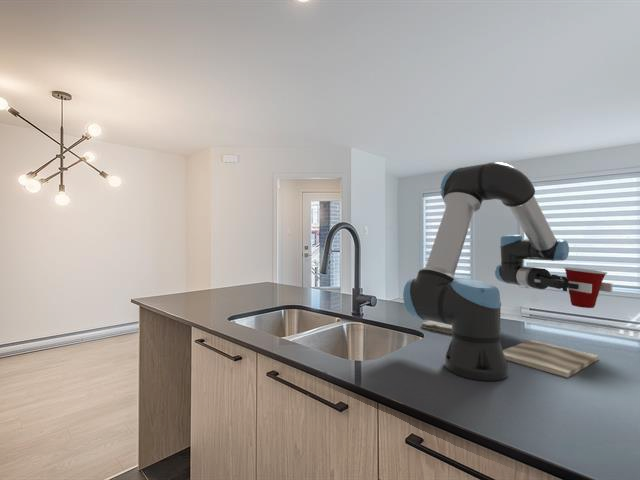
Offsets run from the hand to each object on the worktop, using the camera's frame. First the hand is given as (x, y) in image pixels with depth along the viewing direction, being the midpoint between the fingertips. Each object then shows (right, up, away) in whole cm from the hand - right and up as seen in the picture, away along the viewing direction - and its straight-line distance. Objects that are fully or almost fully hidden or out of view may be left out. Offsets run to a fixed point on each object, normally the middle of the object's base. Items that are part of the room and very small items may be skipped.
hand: (601, 288), depth 101 cm
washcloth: (-36, -21, +27) cm, 49 cm away
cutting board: (-19, -20, -4) cm, 28 cm away
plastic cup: (-2, -7, +5) cm, 8 cm away
